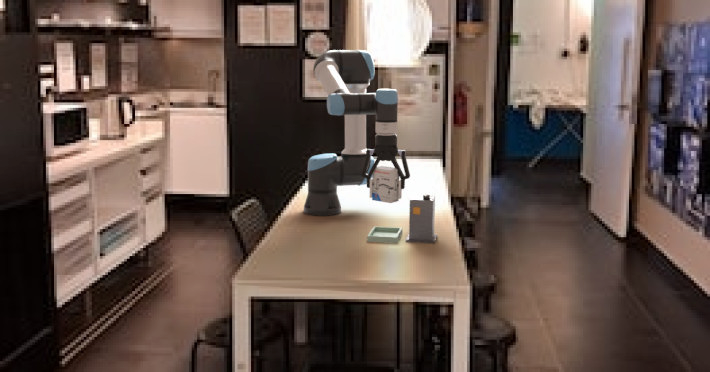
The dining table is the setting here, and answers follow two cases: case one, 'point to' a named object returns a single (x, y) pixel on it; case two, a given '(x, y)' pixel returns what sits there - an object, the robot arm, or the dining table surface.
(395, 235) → the tray
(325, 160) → the robot arm
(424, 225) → the control unit
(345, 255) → the dining table surface
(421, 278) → the dining table surface
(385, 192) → the ink box
